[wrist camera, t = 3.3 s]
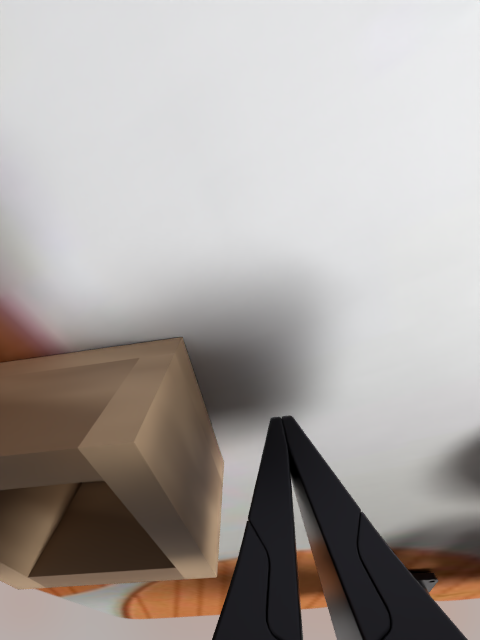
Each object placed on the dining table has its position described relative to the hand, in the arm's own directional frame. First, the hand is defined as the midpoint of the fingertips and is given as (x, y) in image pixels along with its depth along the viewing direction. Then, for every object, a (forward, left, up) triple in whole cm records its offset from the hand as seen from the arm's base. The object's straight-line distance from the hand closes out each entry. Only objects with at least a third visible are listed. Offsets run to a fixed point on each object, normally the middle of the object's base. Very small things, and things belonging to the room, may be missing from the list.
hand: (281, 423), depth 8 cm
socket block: (0, +7, -1) cm, 7 cm away
